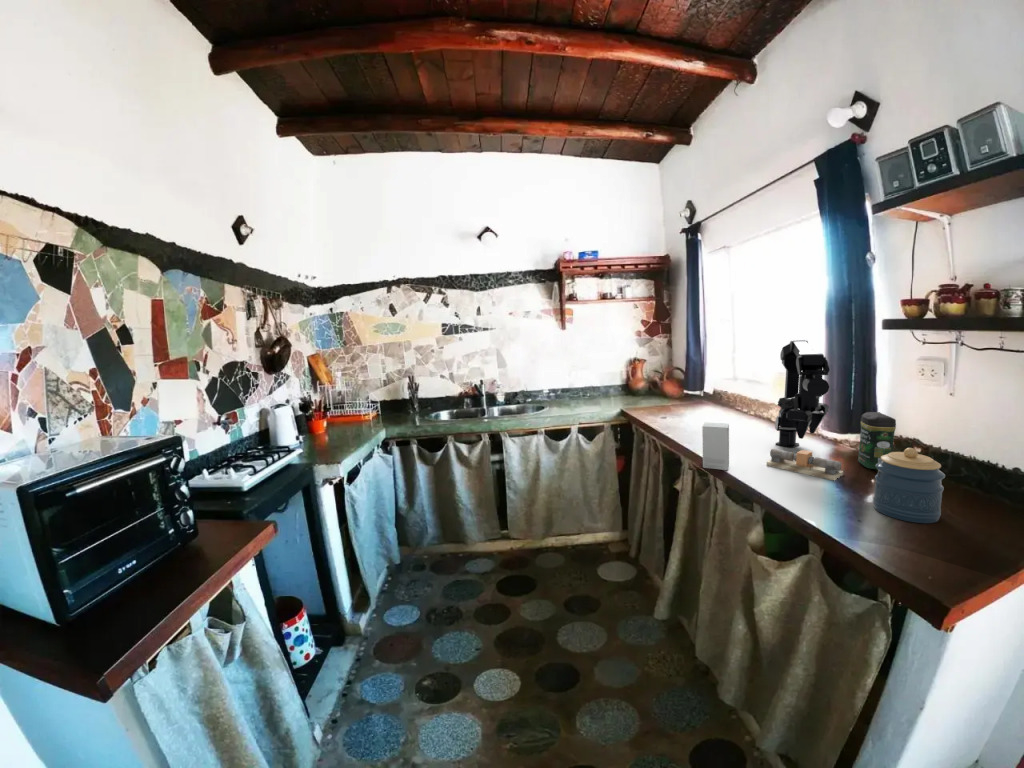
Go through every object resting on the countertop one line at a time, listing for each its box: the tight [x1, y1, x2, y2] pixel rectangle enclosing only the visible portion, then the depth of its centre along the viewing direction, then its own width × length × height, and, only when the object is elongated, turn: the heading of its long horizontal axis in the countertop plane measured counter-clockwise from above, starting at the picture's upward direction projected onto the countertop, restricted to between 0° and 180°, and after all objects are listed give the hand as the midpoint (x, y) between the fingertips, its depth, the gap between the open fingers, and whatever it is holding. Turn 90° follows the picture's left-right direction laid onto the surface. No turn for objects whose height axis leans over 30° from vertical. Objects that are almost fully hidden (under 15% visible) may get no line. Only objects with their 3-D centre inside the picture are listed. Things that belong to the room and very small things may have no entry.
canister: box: [872, 447, 946, 524], centre depth 108 cm, size 13×13×18 cm
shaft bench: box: [766, 448, 845, 481], centre depth 141 cm, size 20×8×5 cm, turn 35°
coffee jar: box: [857, 411, 897, 471], centre depth 140 cm, size 10×8×19 cm
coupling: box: [794, 449, 815, 467], centre depth 141 cm, size 5×5×5 cm
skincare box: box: [701, 421, 730, 471], centre depth 147 cm, size 8×7×16 cm
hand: (806, 435), depth 141 cm, fingers open, 9 cm apart
